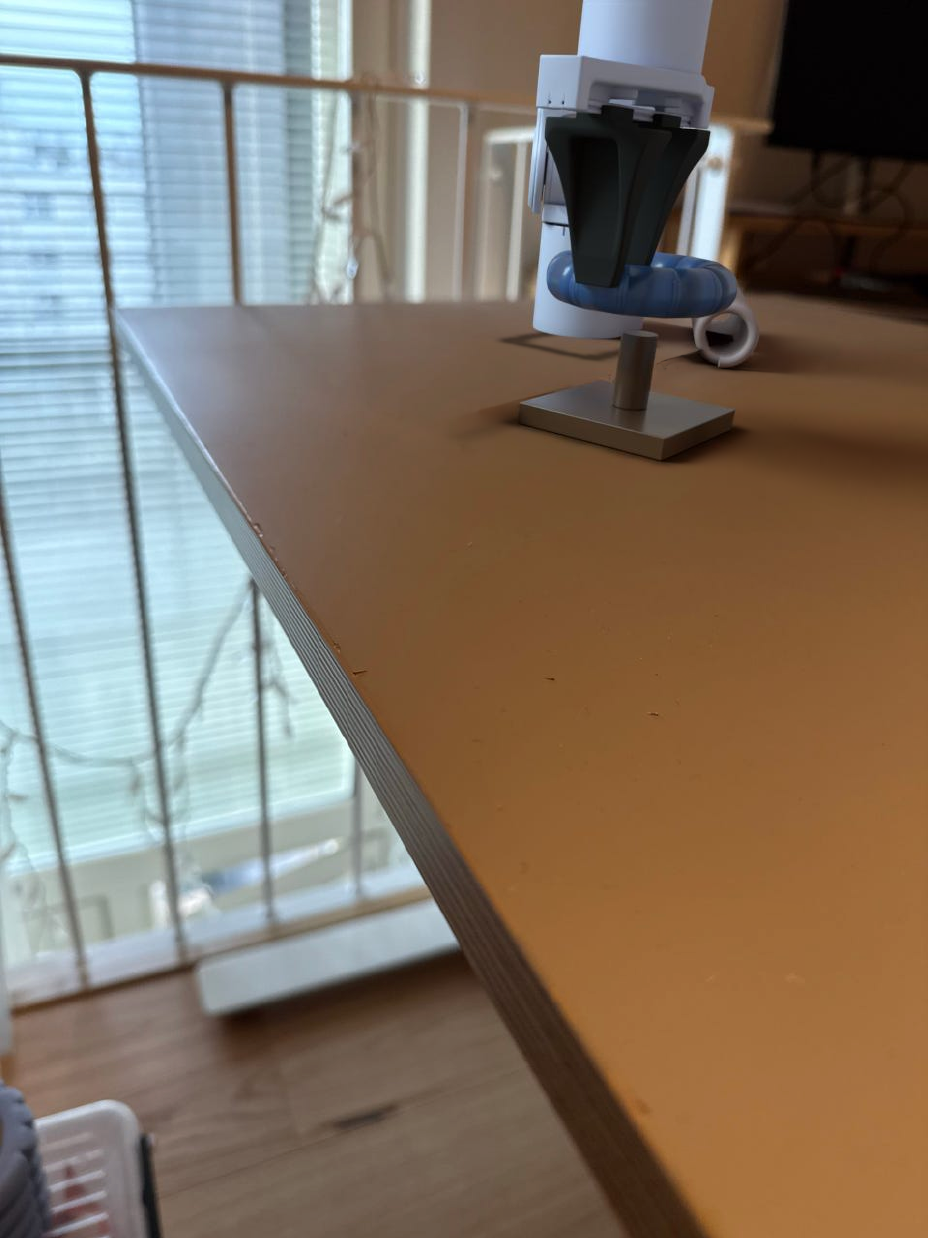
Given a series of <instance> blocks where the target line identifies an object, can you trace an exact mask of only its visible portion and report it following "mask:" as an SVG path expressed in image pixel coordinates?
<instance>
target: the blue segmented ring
mask: <svg viewBox="0 0 928 1238" xmlns="http://www.w3.org/2000/svg"><path fill="white" fill-rule="evenodd" d="M546 281H547V287H548V289H549V291H550V293H551V294H552V295H553V297H554V298H556V299H557V300H559V301H561V302H564V303H567V304H570V305H573V306H576V307H579V308H582V309H587V310H593V311H599V312H605V313H611V314H617V315H624V316H637V317H644V318H651V319H662V320H663V319H665V320H666V319H691V318H702V317H706V316H709V315H713V314H717V313H720V312H722V311H724V310H726V309H727V308H728V307H729V306H730V305H731V304H732V303H733V302H734V300H735V298H736V295H737V290H738V288H739V286H738V281H737V278H736V276H735V274H734V273H733V272H732V270H730V269H729V268H728V267H726V266H725V265H723V264H722V263H720V262H718V261H714V260H710V259H707V258H701V257H696V256H691V255H683V254H678V253H677V254H676V253H667V252H659V251H656V252H655V255H654V258H653V260H652V263H651V266H640V265H628V264H626V265H625V268H624V271H623V274H622V277H621V279H620V282H619V284H618V286H617V287H616V288H605V287H598V286H592V285H585V284H579V283H575V276H574V269H573V261H572V252H571V250H567V251H563V252H561V253H558V254H557V255H556V256H555V257H554V258H553V259H552V260H551V261H550V263H549V265H548V268H547V279H546Z"/></svg>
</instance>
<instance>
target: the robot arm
mask: <svg viewBox="0 0 928 1238" xmlns="http://www.w3.org/2000/svg"><path fill="white" fill-rule="evenodd" d="M713 1H714V0H582V6H581V7H582V8H581V16H580V26H579V36H578V46H577V54H541V55H540V56H539V69H538V79H537V91H536V102H535V107H536V108H537V115H536V127H535V128H534V130H533V139H532V147H531V148H532V149H531V159H530V161H531V162H530V172H529V184H528V195H527V206H528V207H529V209H530V210H532V214H533V215H541V222H542V223H541V224H542V226H541V233H540V234H541V235H540V246H539V255H538V257H539V258H538V266H537V275H536V276H537V277H536V287H535V298H534V306H533V307H534V308H533V318H532V328H533V329H534V330H537V331H539V332H542V333H546V334H550V335H553V336H560V337H569V338H575V339H577V338H578V339H591V340H592V339H593V340H594V339H597V340H599V339H604V340H605V339H615V338H619V337H621V334H622V331H625V330H642V329H643V326H644V325H643V324H644V319H645V317H637V316H624V315H617V314H611V313H605V312H599V311H593V310H587V309H582V308H579V307H576V306H573V305H570V304H567V303H564V302H561V301H559V300H557V299H556V298H554V297H553V295H552V294H551V293H550V291H549V289H548V287H547V281H546V279H547V268H548V265H549V263H550V261H551V260H552V259H553V258H554V257H555V256H556V255H557V254H558V253H561V252H563V251H567V250H571V252H572V261H573V269H574V276H575V283H579V284H585V285H592V286H598V287H605V288H616V287H617V286H618V284H619V282H620V279H621V277H622V274H623V271H624V268H625V265H626V264H628V265H640V266H651V263H652V260H653V258H654V255H655V252H657V249H658V247H659V244H660V241H661V238H662V235H663V233H664V230H665V228H666V225H667V223H668V221H669V217H670V215H671V213H672V210H673V208H674V206H675V203H676V202H677V199H678V197H679V195H680V194H681V192H682V190H683V188H684V187H685V184H686V182H687V180H688V179H689V177H690V176H691V174H692V172H693V171H694V169H695V168H696V166H697V165H698V164H699V162H700V161H701V160H702V158H703V157H704V155H705V154H706V152H707V150H708V148H709V144H710V140H711V139H710V138H711V132H712V131H711V130H708V129H709V125H710V120H711V119H710V118H711V114H712V108H713V102H714V101H713V100H714V95H715V90H716V89H715V87H714V86H710V85H708V84H707V80H706V78H705V76H704V75H702V70H703V64H704V58H705V51H706V45H707V39H708V32H709V26H710V20H711V15H712V14H711V13H712V8H713ZM542 201H543V202H542ZM542 203H543V204H542ZM541 208H542V209H541ZM541 210H542V213H541Z"/></svg>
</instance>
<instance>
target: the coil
mask: <svg viewBox="0 0 928 1238" xmlns="http://www.w3.org/2000/svg"><path fill="white" fill-rule="evenodd" d="M725 314H730V315H729V316H728V317H727V318H725V319H724V320H717V321H713V320H714V319H715V318H717V317H719V316H721V315H725ZM690 320H691V326H692V331H693V332H692V333H693V338H694V343H695V347H696V348H698V349H697V352H698V353H699V354H700V356H701V357H702V358H703V359H705V360H706V361H708V362H709V363H711V364H713V365H717V367H718V368H722V369H724V368H725V369H726V368H733V367H736V366H738V365H741V364H742V363H744V362H745V361H747V359H748V358H749V357H751V355H752V354H753V353H754V351H755V350H756V349H757V345H758V343H759V338H760V324H759V320H758V319H757V317H756V316H755V313H754V312H753V310H752V308H751V307H750V305H749V303H748V302H747V299H746V298H745V296H744V294H743V292H742V291H741V289H740V287H738V290H737V295H736V298H735V300H734V302H733V303H732V304H731V305H730V306H729V307H728V308H727V309H726V310H724V311H722V312H720V313H717V314H713V315H709V316H706V317H702V318H690ZM706 331H707V332H712V333H717V334H722V335H723V334H724V335H729V336H731V337H732V340H729V341H726V342H723V343H719V344H716V345H711V346H710V345H709V340H708V336H707V332H706Z"/></svg>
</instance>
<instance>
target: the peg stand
mask: <svg viewBox="0 0 928 1238" xmlns="http://www.w3.org/2000/svg"><path fill="white" fill-rule="evenodd" d="M658 340H659V334H658V333H655V332H651V331H649V330H648V331H647V330H642V329H640V330H625V331H622V334H621V336H620V341H619V350H618V356H617V363H616V369H615V370H616V371H615V376H614V377H615V378H614V381H613V382H612V381H609V380H603V379H599V380H595V381H591V382H588V383H585V384H580V385H577V386H574V387H570V388H567V389H563V390H559V391H556V392H551V393H549V394H544V395H542V396H541V395H540V396H537V397H534V398H529V399H526V400H523V401H520V402H519V405H518V416H517V417H518V418H517V423H518V424H520V425H523V426H528V427H531V428H536V429H540V430H544V431H547V432H550V433H554V434H558V435H562V436H566V437H570V438H573V439H576V440H581V441H585V442H588V443H593V444H597V445H599V446H604V447H607V448H611V449H616V450H619V451H622V452H627V453H631V454H634V455H638V456H642V457H645V458H649V459H653V460H657V461H663V460H666V459H668V458H670V457H673V456H674V455H677V454H679V453H682V452H683V451H686V450H689V449H690V448H692V447H695V446H698V445H700V444H702V443H704V442H706V441H709V440H711V439H712V438H715V437H717V436H720V435H722V434H724V433H726V432H728V431H730V430H732V427H733V422H734V417H735V411H736V410H735V409H734V408H729V407H725V406H721V405H716V404H711V403H707V402H702V401H698V400H693V399H690V398H689V399H688V398H685V397H680V396H675V395H672V394H671V395H670V394H666V393H661V392H657V391H653V390H651V386H652V380H653V372H654V367H655V360H656V355H657V347H658V342H659V341H658Z"/></svg>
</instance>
